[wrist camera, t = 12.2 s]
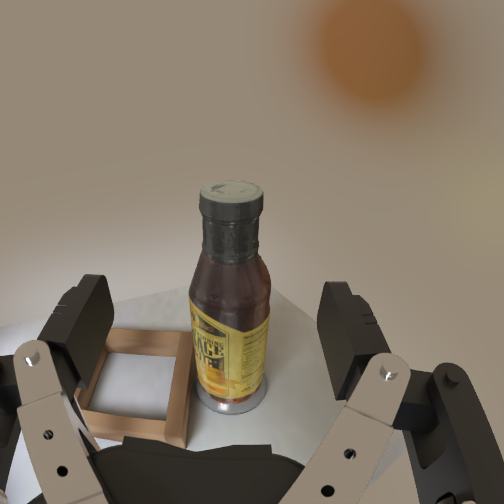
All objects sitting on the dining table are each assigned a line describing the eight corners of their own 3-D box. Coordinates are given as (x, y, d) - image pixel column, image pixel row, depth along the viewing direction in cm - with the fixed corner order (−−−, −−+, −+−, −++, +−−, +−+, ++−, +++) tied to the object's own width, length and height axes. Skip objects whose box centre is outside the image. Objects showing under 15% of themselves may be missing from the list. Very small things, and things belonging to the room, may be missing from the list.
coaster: (194, 413, 27) (193, 410, 27) (199, 360, 33) (199, 357, 33) (268, 414, 28) (268, 410, 27) (263, 361, 34) (264, 357, 33)
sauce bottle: (190, 371, 31) (167, 180, 21) (244, 353, 34) (247, 169, 24) (215, 420, 26) (196, 212, 16) (275, 396, 29) (297, 195, 19)
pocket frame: (66, 430, 23) (56, 417, 22) (100, 341, 35) (94, 326, 33) (185, 449, 24) (181, 436, 23) (196, 347, 35) (194, 332, 34)
